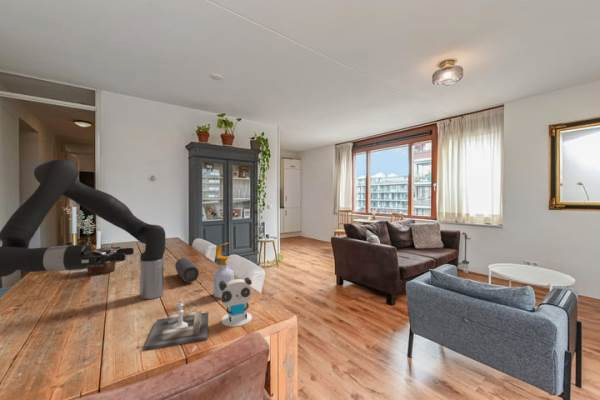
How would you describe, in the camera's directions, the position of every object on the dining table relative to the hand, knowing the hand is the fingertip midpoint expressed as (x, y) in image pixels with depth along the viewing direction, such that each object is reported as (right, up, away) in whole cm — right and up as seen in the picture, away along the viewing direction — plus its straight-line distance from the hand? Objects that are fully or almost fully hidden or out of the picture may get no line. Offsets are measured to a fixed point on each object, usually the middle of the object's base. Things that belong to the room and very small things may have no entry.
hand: (129, 253), depth 84 cm
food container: (-64, -26, +72) cm, 100 cm away
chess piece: (+14, -27, +5) cm, 31 cm away
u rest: (+14, -28, +5) cm, 32 cm away
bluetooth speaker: (-8, -27, +60) cm, 66 cm away
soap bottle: (+20, -27, +37) cm, 50 cm away
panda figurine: (+32, -28, +13) cm, 44 cm away
